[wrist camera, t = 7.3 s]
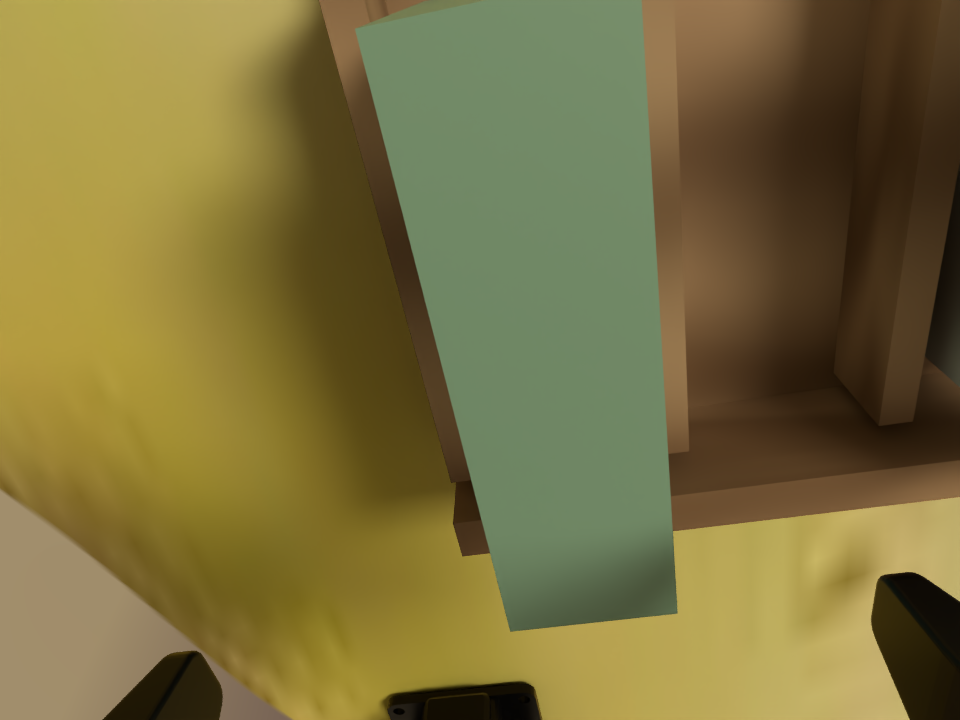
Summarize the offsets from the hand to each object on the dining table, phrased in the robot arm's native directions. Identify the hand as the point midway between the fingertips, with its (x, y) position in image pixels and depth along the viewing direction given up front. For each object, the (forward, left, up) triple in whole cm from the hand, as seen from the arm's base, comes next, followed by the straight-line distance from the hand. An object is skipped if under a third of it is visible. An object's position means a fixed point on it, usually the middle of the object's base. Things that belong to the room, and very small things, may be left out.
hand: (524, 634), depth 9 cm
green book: (+2, -1, -10) cm, 10 cm away
